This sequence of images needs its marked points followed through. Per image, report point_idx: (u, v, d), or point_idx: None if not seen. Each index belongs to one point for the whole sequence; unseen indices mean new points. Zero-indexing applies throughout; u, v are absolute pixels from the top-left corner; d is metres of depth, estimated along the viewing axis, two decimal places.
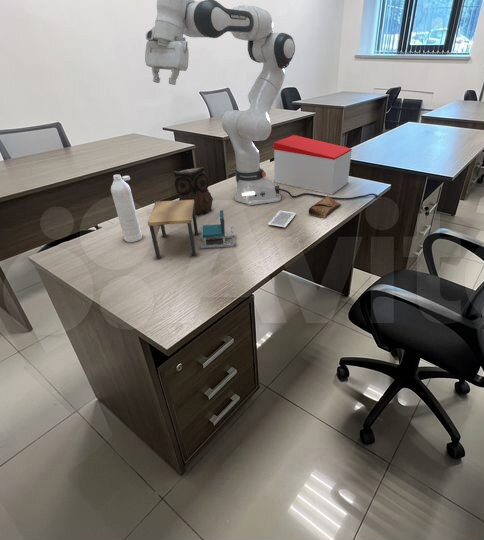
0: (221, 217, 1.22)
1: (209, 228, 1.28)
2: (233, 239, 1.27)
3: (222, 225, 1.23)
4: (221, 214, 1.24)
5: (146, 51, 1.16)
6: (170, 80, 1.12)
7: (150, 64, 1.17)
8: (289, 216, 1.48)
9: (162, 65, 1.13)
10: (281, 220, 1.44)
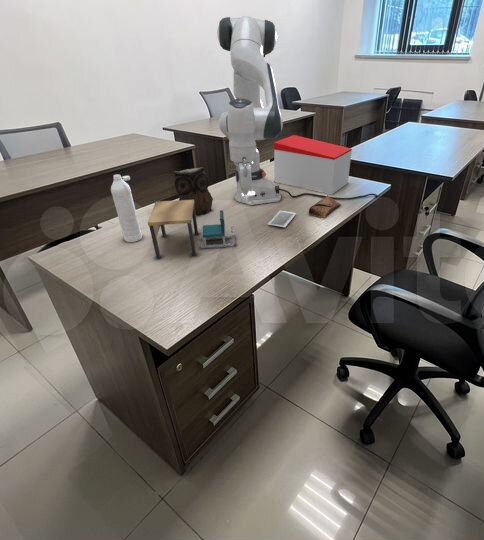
0: (221, 217, 1.22)
1: (209, 228, 1.28)
2: (233, 239, 1.27)
3: (222, 225, 1.23)
4: (221, 214, 1.24)
5: None
6: (242, 192, 1.20)
7: None
8: (289, 216, 1.48)
9: None
10: (281, 220, 1.44)
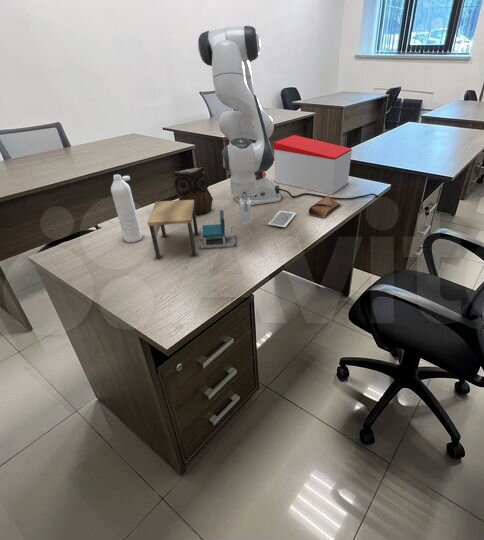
0: (221, 217, 1.22)
1: (209, 228, 1.28)
2: (233, 239, 1.27)
3: (222, 225, 1.23)
4: (221, 214, 1.24)
5: None
6: (243, 222, 1.26)
7: None
8: (289, 216, 1.48)
9: None
10: (281, 220, 1.44)
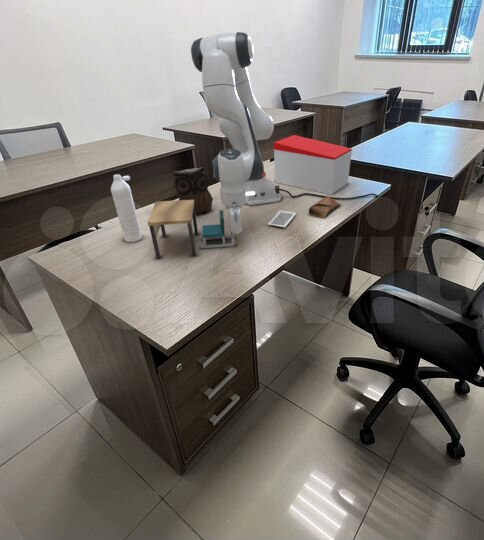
0: (221, 217, 1.22)
1: (209, 228, 1.28)
2: (233, 239, 1.26)
3: (222, 225, 1.23)
4: (221, 214, 1.24)
5: None
6: None
7: None
8: (289, 216, 1.48)
9: None
10: (281, 220, 1.44)
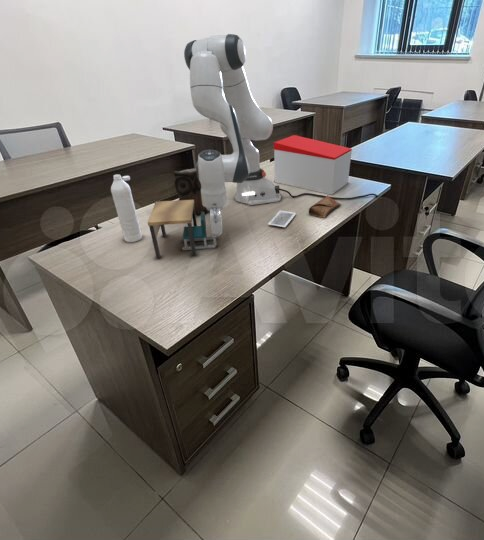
0: (202, 218, 1.21)
1: None
2: (214, 241, 1.26)
3: (203, 227, 1.22)
4: (202, 215, 1.23)
5: None
6: None
7: None
8: (289, 216, 1.48)
9: None
10: (281, 220, 1.44)
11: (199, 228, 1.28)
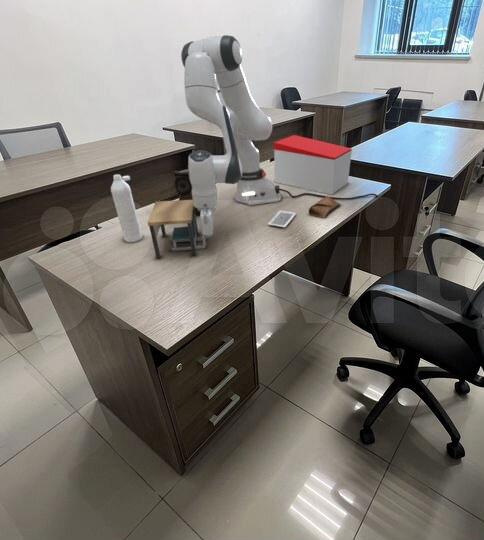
0: None
1: (180, 230, 1.26)
2: (204, 241, 1.25)
3: (192, 227, 1.21)
4: None
5: None
6: None
7: None
8: (289, 216, 1.48)
9: None
10: (281, 220, 1.44)
11: None
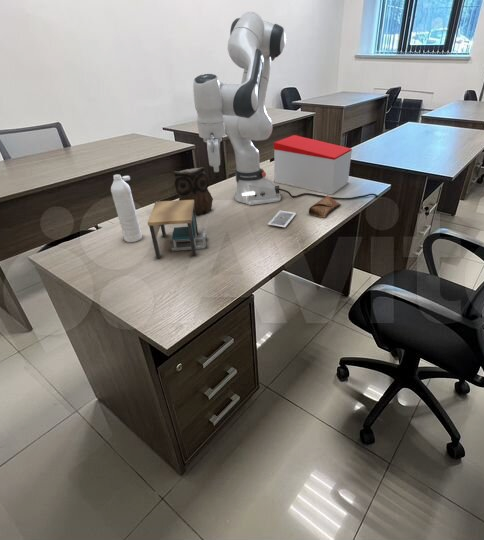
0: None
1: (180, 230, 1.26)
2: (204, 241, 1.25)
3: (192, 227, 1.21)
4: None
5: None
6: None
7: None
8: (289, 216, 1.48)
9: None
10: (281, 220, 1.44)
11: None
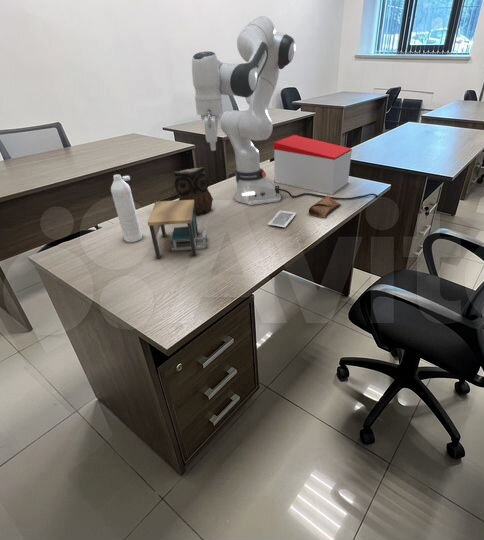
0: None
1: (180, 230, 1.26)
2: (204, 241, 1.25)
3: (192, 227, 1.21)
4: None
5: None
6: None
7: None
8: (289, 216, 1.48)
9: None
10: (281, 220, 1.44)
11: None
